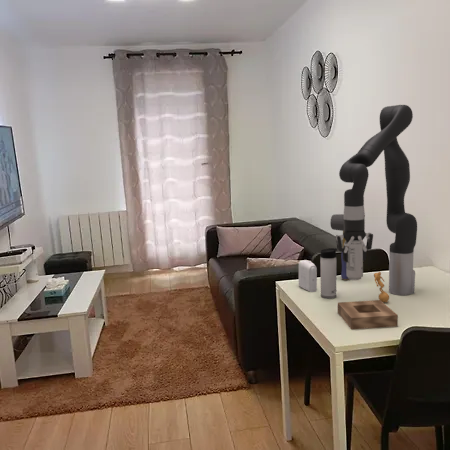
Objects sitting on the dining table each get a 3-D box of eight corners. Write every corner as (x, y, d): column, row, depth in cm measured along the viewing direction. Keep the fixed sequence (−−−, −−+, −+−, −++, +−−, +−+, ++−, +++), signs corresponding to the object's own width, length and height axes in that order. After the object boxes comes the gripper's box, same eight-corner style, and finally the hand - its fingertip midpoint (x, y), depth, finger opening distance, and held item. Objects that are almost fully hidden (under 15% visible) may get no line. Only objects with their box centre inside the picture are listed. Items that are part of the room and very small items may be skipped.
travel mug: (337, 299, 198) (337, 250, 194) (320, 298, 199) (320, 250, 196) (337, 294, 204) (337, 247, 200) (320, 293, 205) (320, 246, 202)
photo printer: (318, 291, 209) (318, 262, 207) (309, 292, 207) (309, 264, 205) (305, 284, 218) (305, 257, 216) (297, 286, 217) (297, 258, 215)
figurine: (386, 306, 188) (386, 275, 186) (370, 303, 191) (370, 273, 189) (391, 299, 195) (392, 270, 192) (376, 297, 198) (377, 268, 196)
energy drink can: (365, 279, 185) (365, 240, 182) (351, 281, 184) (350, 241, 181) (358, 275, 191) (357, 237, 188) (343, 276, 189) (343, 238, 187)
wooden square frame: (379, 310, 184) (380, 299, 183) (397, 326, 168) (397, 315, 167) (337, 312, 183) (337, 302, 182) (351, 329, 167) (351, 318, 166)
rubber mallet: (329, 280, 224) (329, 215, 218) (334, 276, 230) (334, 212, 225) (357, 283, 217) (357, 216, 212) (361, 278, 224) (362, 213, 219)
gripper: (369, 214, 187) (369, 257, 190) (332, 217, 186) (332, 260, 189) (376, 217, 180) (376, 262, 183) (338, 220, 179) (338, 265, 182)
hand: (354, 261), depth 186 cm, fingers closed on energy drink can, 6 cm apart
